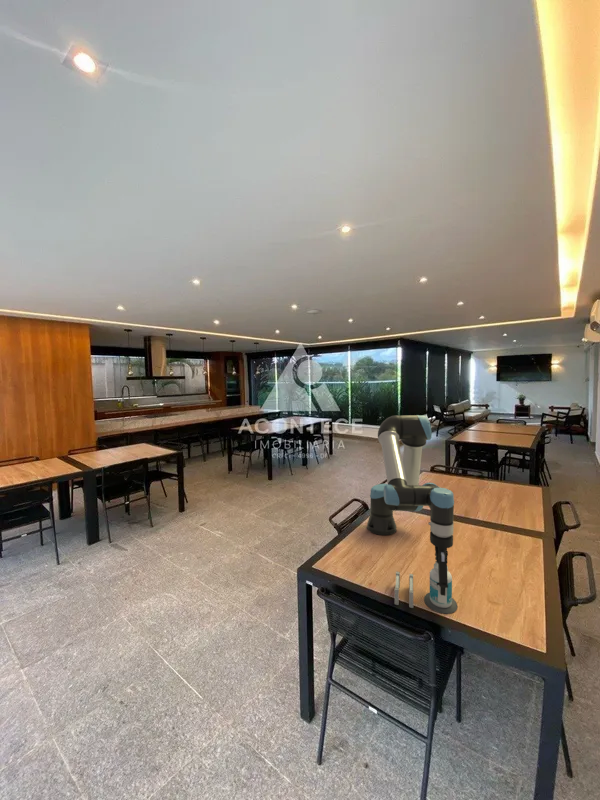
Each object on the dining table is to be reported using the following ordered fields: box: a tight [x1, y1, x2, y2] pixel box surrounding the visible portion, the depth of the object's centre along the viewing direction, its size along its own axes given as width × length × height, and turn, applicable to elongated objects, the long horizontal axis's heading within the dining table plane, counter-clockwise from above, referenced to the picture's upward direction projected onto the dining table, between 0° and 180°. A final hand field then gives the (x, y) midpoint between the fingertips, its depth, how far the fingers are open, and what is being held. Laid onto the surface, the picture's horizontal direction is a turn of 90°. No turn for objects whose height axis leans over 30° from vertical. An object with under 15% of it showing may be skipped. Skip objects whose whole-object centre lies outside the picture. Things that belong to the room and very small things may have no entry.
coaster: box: [423, 591, 458, 615], centre depth 118 cm, size 11×11×1 cm
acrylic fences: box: [394, 570, 414, 609], centre depth 122 cm, size 11×6×6 cm, turn 161°
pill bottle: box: [429, 563, 453, 608], centre depth 118 cm, size 8×7×14 cm
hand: (440, 589), depth 118 cm, fingers open, 13 cm apart
